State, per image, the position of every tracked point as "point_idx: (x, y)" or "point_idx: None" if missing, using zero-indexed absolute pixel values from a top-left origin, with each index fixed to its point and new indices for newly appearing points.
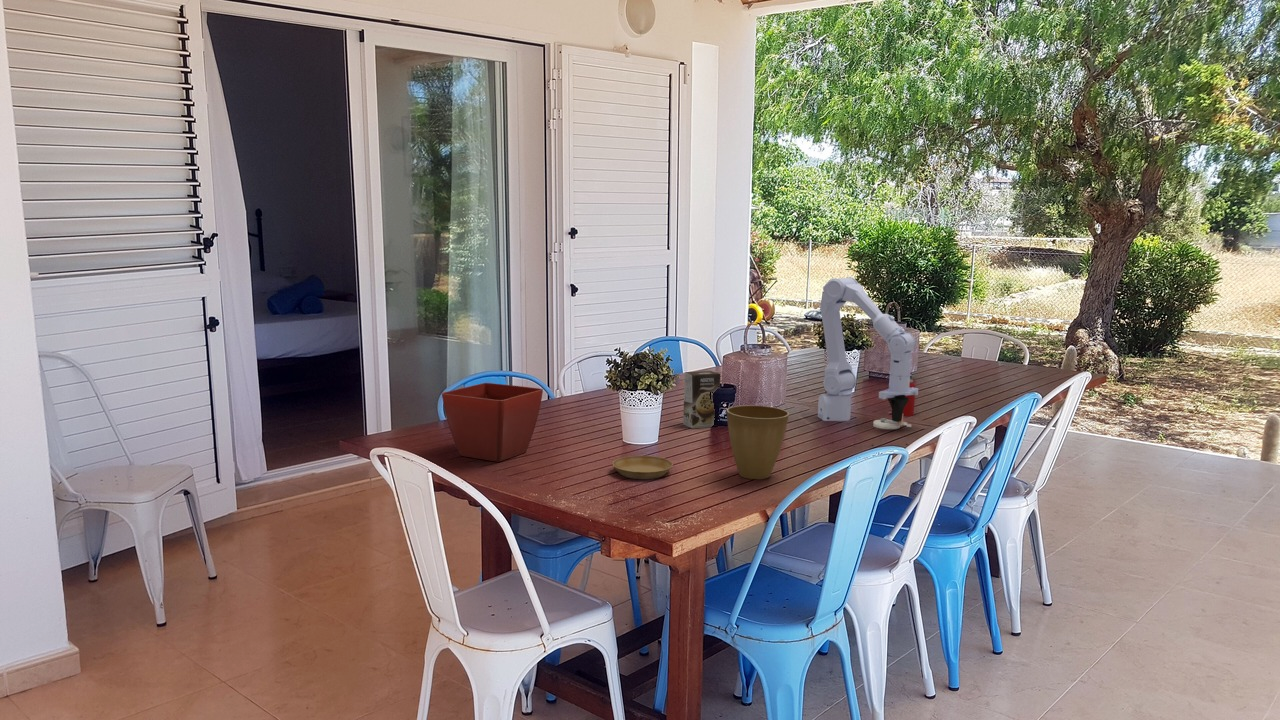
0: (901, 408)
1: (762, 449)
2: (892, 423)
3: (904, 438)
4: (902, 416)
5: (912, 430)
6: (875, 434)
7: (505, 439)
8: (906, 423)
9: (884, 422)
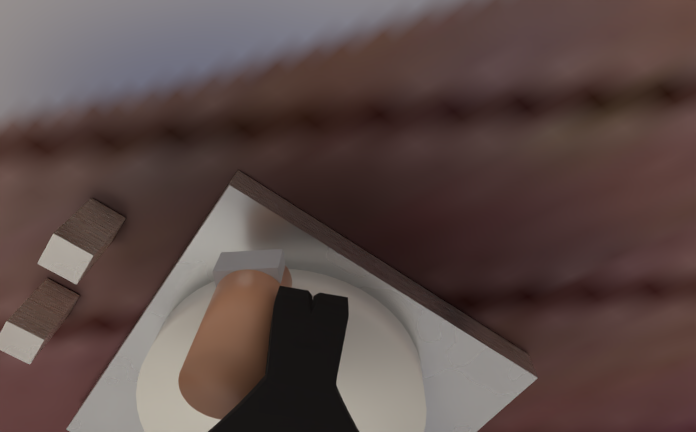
0: (322, 418)
1: None
2: None
3: (479, 55)
4: (241, 323)
5: (52, 200)
6: (524, 340)
7: None
8: (20, 312)
9: None
